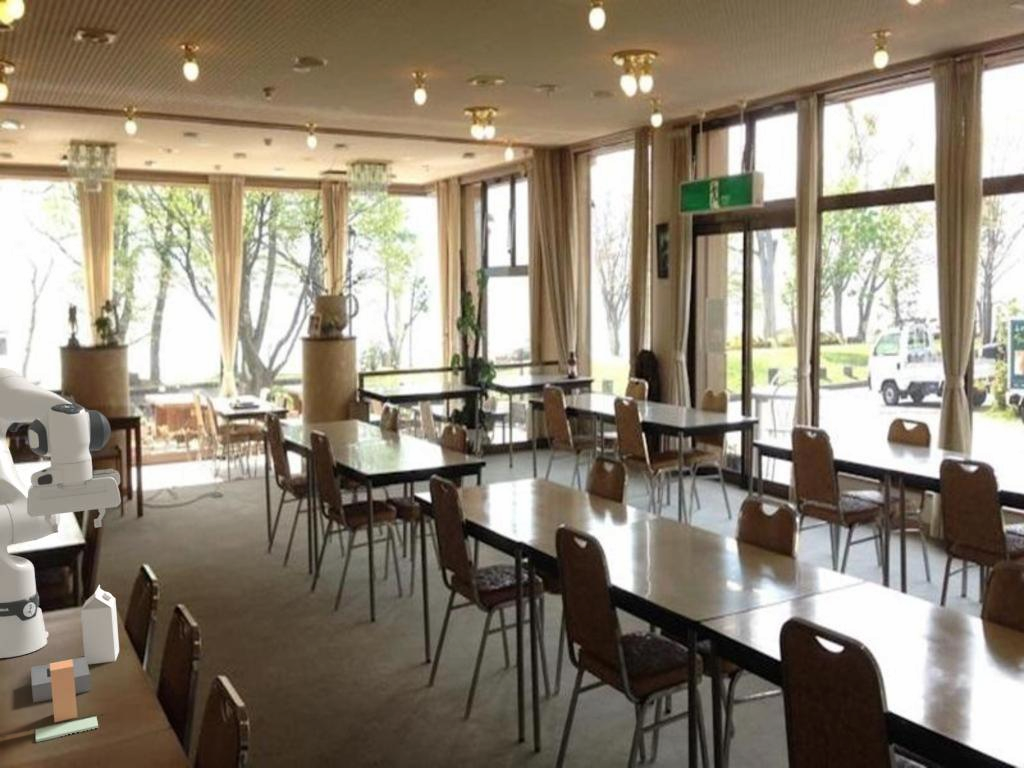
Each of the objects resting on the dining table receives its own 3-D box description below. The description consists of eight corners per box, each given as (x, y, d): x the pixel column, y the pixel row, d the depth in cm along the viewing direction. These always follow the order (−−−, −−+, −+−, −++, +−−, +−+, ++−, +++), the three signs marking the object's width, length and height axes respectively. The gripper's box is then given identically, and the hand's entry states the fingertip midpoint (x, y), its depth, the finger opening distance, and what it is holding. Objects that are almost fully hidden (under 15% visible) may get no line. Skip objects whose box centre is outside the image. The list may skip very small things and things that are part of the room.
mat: (34, 711, 207) (34, 709, 207) (92, 699, 213) (92, 697, 213) (36, 742, 193) (35, 739, 193) (98, 728, 199) (98, 725, 199)
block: (53, 715, 204) (49, 663, 203) (76, 710, 206) (72, 659, 205) (54, 723, 200) (50, 670, 199) (77, 718, 202) (73, 666, 201)
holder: (32, 687, 221) (30, 667, 220) (87, 676, 226) (86, 656, 226) (33, 706, 210) (31, 685, 210) (91, 694, 216) (89, 674, 215)
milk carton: (85, 668, 231) (79, 594, 229) (90, 657, 238) (84, 586, 235) (115, 664, 233) (110, 591, 231) (119, 654, 239) (114, 583, 237)
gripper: (118, 465, 227) (122, 520, 228) (24, 475, 217) (28, 532, 219) (120, 469, 221) (124, 526, 223) (24, 480, 212) (29, 539, 213)
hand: (76, 529), depth 221 cm, fingers open, 8 cm apart
